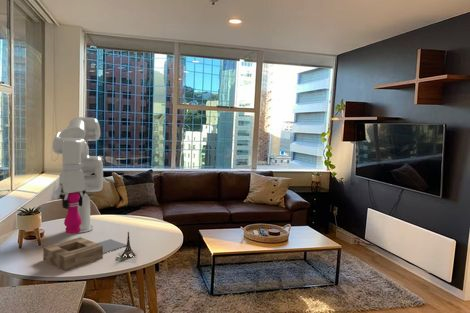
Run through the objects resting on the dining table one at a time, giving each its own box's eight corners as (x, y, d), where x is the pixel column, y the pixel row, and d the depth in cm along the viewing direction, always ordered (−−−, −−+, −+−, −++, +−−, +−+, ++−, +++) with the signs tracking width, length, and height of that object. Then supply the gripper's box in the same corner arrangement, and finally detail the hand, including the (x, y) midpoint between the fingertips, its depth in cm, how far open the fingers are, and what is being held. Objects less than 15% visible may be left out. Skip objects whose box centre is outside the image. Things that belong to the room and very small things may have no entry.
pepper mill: (64, 229, 161) (63, 186, 159) (81, 228, 164) (81, 186, 162) (63, 234, 155) (63, 190, 153) (81, 233, 158) (81, 189, 155)
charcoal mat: (86, 247, 175) (86, 246, 175) (110, 239, 187) (110, 239, 187) (103, 254, 167) (103, 253, 167) (127, 246, 179) (127, 245, 179)
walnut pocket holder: (43, 260, 158) (43, 247, 158) (80, 248, 173) (80, 237, 172) (65, 270, 148) (64, 257, 147) (102, 258, 163) (102, 245, 162)
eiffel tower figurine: (118, 251, 172) (118, 225, 171) (139, 251, 174) (139, 224, 173) (113, 264, 158) (113, 235, 156) (137, 263, 159) (137, 234, 158)
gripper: (84, 164, 165) (85, 202, 167) (48, 168, 151) (49, 209, 153) (94, 166, 161) (94, 204, 163) (57, 170, 147) (58, 212, 149)
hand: (72, 206), depth 158 cm, fingers closed on pepper mill, 5 cm apart
